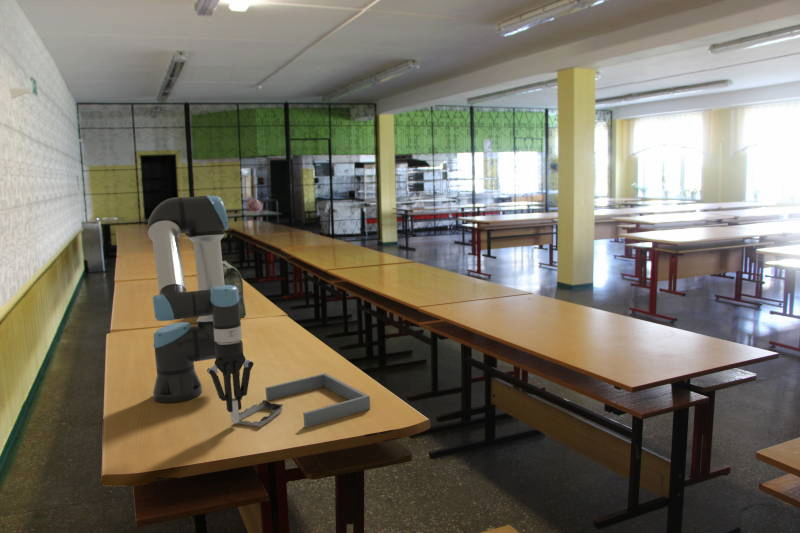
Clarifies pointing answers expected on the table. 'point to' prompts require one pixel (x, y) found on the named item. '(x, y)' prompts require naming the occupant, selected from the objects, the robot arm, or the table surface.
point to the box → (328, 413)
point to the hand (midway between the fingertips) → (235, 421)
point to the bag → (234, 284)
